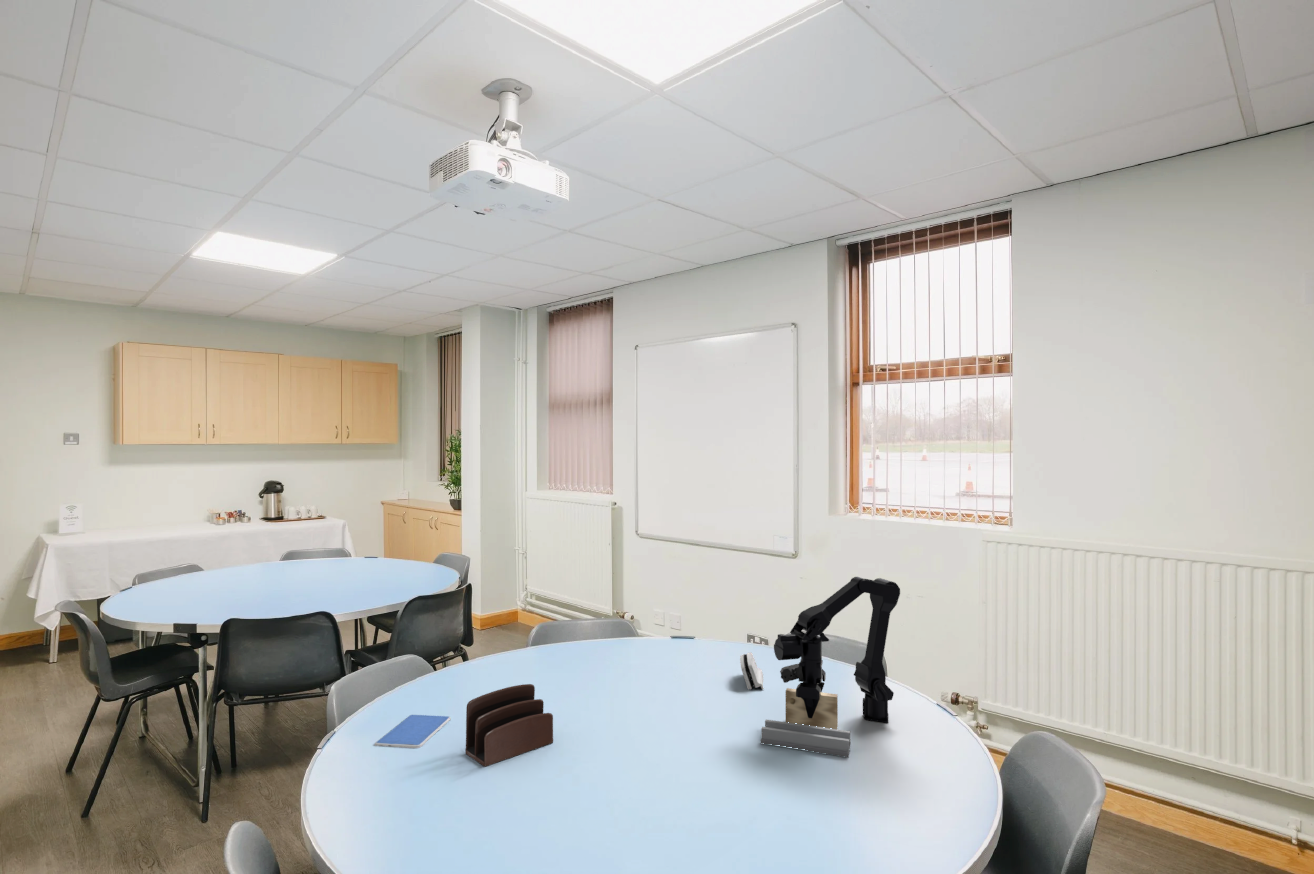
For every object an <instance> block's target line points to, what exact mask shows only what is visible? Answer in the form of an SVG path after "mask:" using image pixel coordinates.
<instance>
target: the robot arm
mask: <svg viewBox="0 0 1314 874" xmlns="http://www.w3.org/2000/svg"><path fill="white" fill-rule="evenodd" d="M864 593H865V594H869V600H870V602H871V605H872V606H871V608H872V611H871V617H870V624H869V629H868V637H867V641H866V648H865V656H864V658H863V659H862V660H861V662H859V661H856V663H855V670H854V673H853V676H854V677H855V679H854V681H855V683H856V684H857V686H858V687H859V689H860V691H861V692H862V693H864V697H863V698H862V715H863V716H864V717H863V719H864V720H866V721H872V722H881V723H889V701H892V700H893V698H894V694H895V692H894V691H893V690H892V689H891V688H890V687H889V686H888V685H887V683H886V681H887V680H886V679H887V678H886V675H887V674H886V670H885V667H884V663H883V661H884V656H885V655H884V654H885V648H886V643H887V641H886V640H887V636H888V630H889V623H890V617H891V614H892V611H893V610H894V608H895V607H896V606H897V604H898V601H899V599H900V596H901V587H899V585H898V584H897V583H896V582H895V581H891V580H887V579H885V578H881V577H879V578H875V579H874V580H873V579H868V578H862V577H859V576H854V577H851V579H850V581H849V582H848V583H847V582H846V584H845V585H843V586H842V587H840V589H838V590H837V591H836V592H834V593H833V594H832V595H831V596H829V597H828V598H826V599H825V600H824V601H822V602H821V603H820V604H816V605H812V606H811V607H808V608H806V609H804V610H803V611H801V612H800V613H799V615H798V616H797V621H796V622H795V623H794V625H793V627H792V628H791V630H790V633H789V634H785V633H784V634H782V633H780V634H777V638H776V639H775V642H774V644H773V653H774V655H775V658H776V659H777V660H778V661H787V660H798V659H800V660H799V661H800V662H798V663H795V664H790V665H787V666H784V667H783V666H782V667H781V669H780V671H779V673H780V678H781V679H782V682H783V683H784V684H785V683H788V682H791V681H794V680H798V682H800V683H798V684H797V686H796V688H795V689H796V697H800V698H802V699H803V700H804V703H805V707H806V711H807V715H808V718H812V717H813V715H814V712H815V710H816V707H817V705H818V702H819V700H820V697H821V692H822V693H823V689H824V687H825V682H826V677H827V676H826V675H827V674H826V673H827V672H826V671H825V670H824V669H823V663H824V662H823V660H824V659H823V656H822V655H823V654H822V653H823V650H822V649H823V642H829V641H830V639H829V638H828V637H827V636H826V635H825V634H824V631H825V630H826V629H827V628H828V627H830V624H831V622H832V619H833V618H834V617H835V616H836V615H838V613H840V612H841V611H843V610H844V609H845V608H846V607H848V606H849V605H850V604H851V603H853V602H854V601H855V600H857V599H858V598H859V597H860V596H861V595H863V594H864ZM804 631H805V632H804Z"/></svg>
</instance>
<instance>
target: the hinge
mask: <svg viewBox="0 0 1314 874" xmlns="http://www.w3.org/2000/svg"><path fill="white" fill-rule="evenodd" d="M739 661H740V662H739V663H740V668H741V671H742V675H743V678H744V681H745V685H746V687H747V689H748V690H749V689H750V690H752V688H753V687H754V688H759V687H760V688H761V690H762V689H764V688H765V687H764V688H763V682H764V673H763V670H762V668H759V667H758V665H757V661H756V659H755V657H754V654H753V653H752V652H747V653H746V654H745V653H743V654H741V655H740V658H739ZM764 690H765V689H764Z"/></svg>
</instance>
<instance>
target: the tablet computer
mask: <svg viewBox="0 0 1314 874" xmlns="http://www.w3.org/2000/svg"><path fill="white" fill-rule="evenodd" d="M451 719H452V718H451V716H445V715H427V714H425V715H424V714H410V715H408V716H406V718H404V719H403V720H402V721H401V722H400V723H398V724H397V725H396V726H395V727H393V728H391V730H390V731H388V732H387V733H385V734H384V735H383V736H382V737H380V738H379V739H378V740H377V741H375V742H374V746H375V747H377V746H378V747H389V748H405V749H407V748H408V749H419V748H421V747H423V746H424V745H425V744H426V743H427V742H428V741H429V740H430V739H431V738H432V737H433V736H434V735H435V734H436V733H437V732H439V731H440V729H442V728H443V727H444V726H445V725H446V724H447V723H449V722H450V721H451Z"/></svg>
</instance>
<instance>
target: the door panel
mask: <svg viewBox="0 0 1314 874" xmlns="http://www.w3.org/2000/svg"><path fill="white" fill-rule="evenodd" d="M838 696H839V695H838V693H829V692H828V693H827V692H823V691H822V692H821V697H820V700H819V702H818V705H817V707H816V710H815V712H814V715H813V717H812V718H808V715H807V711H806V707H805V703H804V700H803V699H802V698H800V697H796V688H789V687H787V688H786V690H785V722H789V723H797V724H804V725H810V726H817V727H825V728H832V729H837V730H838V728H837V727H838V726H839V725H838V722H839V721H838V718H839V717H838V714H839V711H838V710H839V709H838V708H839V707H838V704H839V703H838V701H839V700H838Z"/></svg>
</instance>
